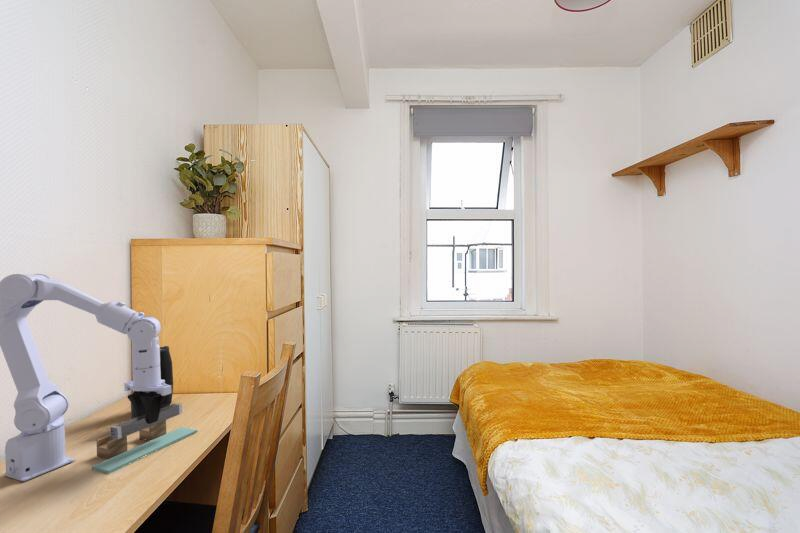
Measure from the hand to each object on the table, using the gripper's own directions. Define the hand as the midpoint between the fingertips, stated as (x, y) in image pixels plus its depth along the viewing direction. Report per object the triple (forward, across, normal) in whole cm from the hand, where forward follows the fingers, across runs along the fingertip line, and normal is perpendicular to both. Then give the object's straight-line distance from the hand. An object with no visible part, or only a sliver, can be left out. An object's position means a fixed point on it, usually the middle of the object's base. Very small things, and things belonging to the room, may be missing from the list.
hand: (148, 421), depth 95 cm
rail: (+1, 0, 0) cm, 1 cm away
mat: (+7, 0, 0) cm, 7 cm away
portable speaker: (+7, +26, -20) cm, 34 cm away
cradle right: (+7, +6, -5) cm, 10 cm away
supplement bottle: (+7, +18, -11) cm, 22 cm away
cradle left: (+7, +6, +5) cm, 10 cm away
